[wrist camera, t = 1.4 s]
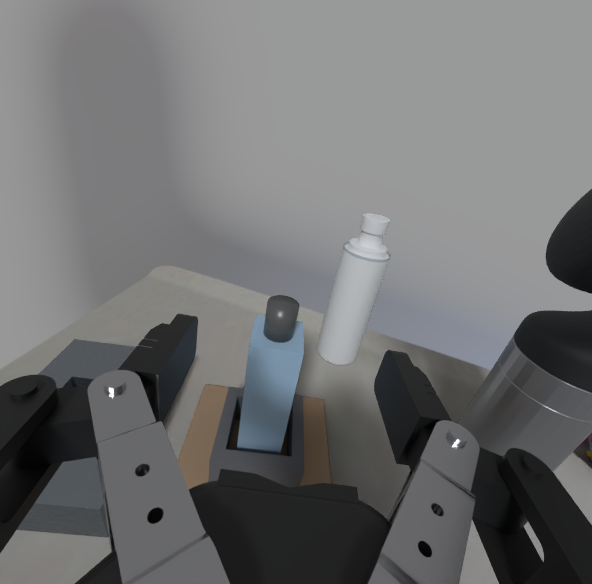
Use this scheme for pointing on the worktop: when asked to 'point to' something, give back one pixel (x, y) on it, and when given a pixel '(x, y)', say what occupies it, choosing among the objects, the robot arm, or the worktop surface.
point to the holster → (280, 468)
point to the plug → (271, 376)
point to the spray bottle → (354, 291)
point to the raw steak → (591, 444)
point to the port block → (84, 472)
